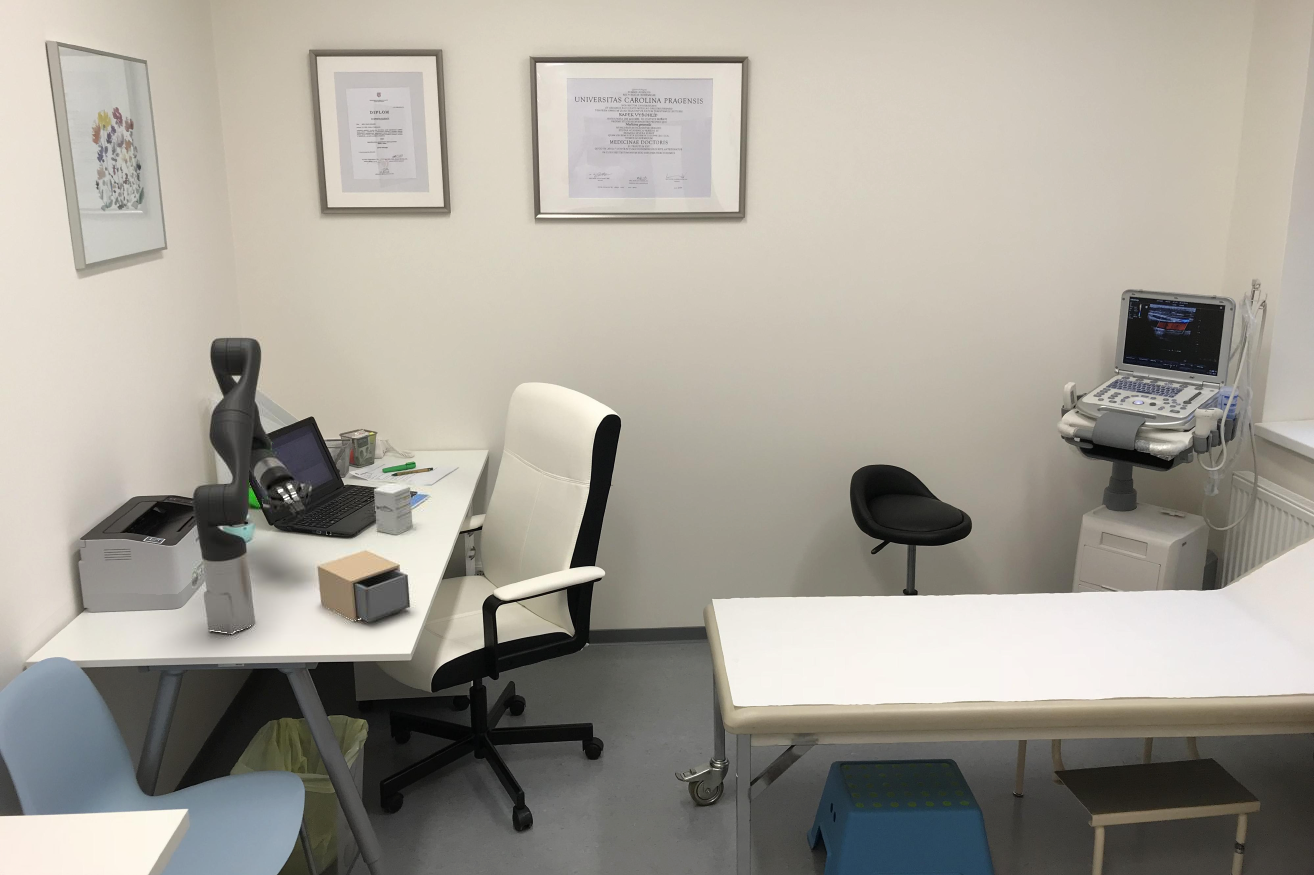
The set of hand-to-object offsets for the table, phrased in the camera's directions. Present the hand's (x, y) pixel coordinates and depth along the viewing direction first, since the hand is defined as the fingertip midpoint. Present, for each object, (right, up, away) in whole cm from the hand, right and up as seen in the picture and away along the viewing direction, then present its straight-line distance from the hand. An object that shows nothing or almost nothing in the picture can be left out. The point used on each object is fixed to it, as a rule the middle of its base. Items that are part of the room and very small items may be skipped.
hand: (301, 513), depth 246 cm
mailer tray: (+18, -20, -7) cm, 28 cm away
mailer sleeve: (+17, -21, -6) cm, 27 cm away
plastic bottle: (-34, -2, +64) cm, 73 cm away
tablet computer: (+7, -3, +64) cm, 65 cm away
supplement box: (+12, -8, +43) cm, 45 cm away
